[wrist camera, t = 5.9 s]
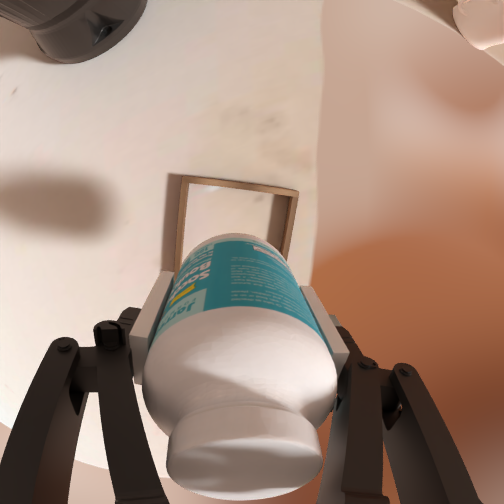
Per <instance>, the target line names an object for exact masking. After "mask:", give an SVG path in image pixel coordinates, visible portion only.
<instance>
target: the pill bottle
mask: <svg viewBox="0 0 504 504" xmlns="http://www.w3.org/2000/svg"><path fill="white" fill-rule="evenodd" d="M142 392H143V398H144V401H145V405H146V407H147V410H148V412H149V414H150V415H151V417H152V419H153V420H154V422H155V423H156V424H157V426H158V427H159V428H160V429H161V430H162V431H163V432H164V433H165V434H166V435H167V436H169V442H168V451H167V460H166V468H167V472H168V474H169V476H170V477H171V478H172V480H174V481H175V482H176V483H177V484H178V485H180V486H181V487H183V488H185V489H187V490H189V491H191V492H194V493H197V494H200V495H203V496H207V497H212V498H217V499H225V500H255V499H264V498H269V497H274V496H278V495H282V494H285V493H288V492H291V491H293V490H296V489H298V488H300V487H302V486H304V485H305V484H307V483H308V482H310V481H311V480H312V479H313V478H315V477H316V476H317V475H318V473H319V472H320V470H321V468H322V464H323V457H322V452H321V448H320V444H319V440H318V434H317V432H316V430H317V429H318V428H319V427H320V426H321V425H322V423H323V422H324V421H325V419H326V418H327V416H328V415H329V413H330V411H331V409H332V407H333V404H334V401H335V397H336V393H337V373H336V369H335V365H334V362H333V360H332V357H331V355H330V353H329V350H328V348H327V346H326V344H325V342H324V340H323V338H322V335H321V333H320V331H319V329H318V327H317V325H316V323H315V320H314V318H313V316H312V314H311V312H310V310H309V308H308V306H307V303H306V301H305V299H304V297H303V295H302V293H301V291H300V289H299V287H298V284H297V282H296V280H295V278H294V276H293V274H292V272H291V270H290V268H289V266H288V264H287V262H286V260H285V259H284V257H283V256H282V255H281V254H280V253H279V251H278V250H277V249H276V248H274V247H273V246H272V245H271V244H269V243H268V242H266V241H264V240H262V239H260V238H258V237H255V236H252V235H247V234H241V233H230V234H223V235H218V236H215V237H212V238H210V239H208V240H206V241H204V242H202V243H201V244H199V245H198V246H197V247H196V248H194V249H193V250H192V251H191V252H190V253H189V255H188V256H187V257H186V259H185V260H184V262H183V264H182V266H181V268H180V271H179V273H178V275H177V278H176V281H175V283H174V286H173V288H172V291H171V293H170V296H169V298H168V301H167V304H166V307H165V309H164V312H163V315H162V317H161V320H160V323H159V325H158V328H157V331H156V334H155V336H154V339H153V342H152V344H151V347H150V350H149V353H148V356H147V359H146V363H145V366H144V369H143V376H142Z"/></svg>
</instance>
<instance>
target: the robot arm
mask: <svg viewBox="0 0 504 504" xmlns="http://www.w3.org/2000/svg"><path fill="white" fill-rule="evenodd" d="M146 4H147V0H0V16H1V17H3V18H6V19H8V20H10V21H12V22H14V23H17V24H19V25H21V26H23V27H25V28H27V29H29V31H30V32H31V34H32V35H33V37H34V38H35V40H36V41H37V44H38V46H39V48H40V50H41V51H42V52H43V53H44V54H45V55H47V56H48V57H50V58H52V59H54V60H56V61H59V62H62V63H79V62H83V61H87V60H89V59H92V58H94V57H97V56H99V55H101V54H102V53H104V52H106V51H107V50H109V49H110V48H112V47H113V46H115V45H116V44H117V43H118V42H120V41H121V40H122V39H123V38H124V37H125V36H126V35H127V34H128V33H129V32H130V31H131V30H132V29H133V27H134V26H135V25H136V24H137V22H138V21H139V19H140V17H141V16H142V14H143V12H144V10H145V7H146ZM173 286H174V272H170V271H161V273H160V275H159V277H158V279H157V280H156V282H155V284H154V286H153V288H152V290H151V292H150V294H149V296H148V298H147V300H146V302H145V304H144V306H143V308H142V309H139V308H133V307H128V308H127V309H125V310H124V311H122V313H121V315H120V317H119V318H118V320H117V321H112V320H107V321H102V322H99V323H97V324H96V325H95V326H94V329H93V332H94V338H95V344H96V346H94V347H79V345H78V343H77V341H76V340H74V339H73V338H70V337H61V338H58V339H56V340H54V341H53V342H52V343H51V345H50V346H49V348H48V350H47V352H46V354H45V356H44V358H43V360H42V362H41V364H40V366H39V368H38V370H37V372H36V374H35V376H34V378H33V381H32V383H31V385H30V387H29V389H28V391H27V394H26V396H25V398H24V401H23V403H22V405H21V408H20V410H19V413H18V415H17V418H16V420H15V423H14V425H13V428H12V431H11V433H10V436H9V439H8V442H7V445H6V448H5V451H4V454H3V457H2V460H1V463H0V504H68V495H69V487H70V481H71V474H72V468H73V462H74V457H75V451H76V446H77V441H78V436H79V432H80V427H81V423H82V419H83V414H84V410H85V406H86V402H87V398H88V395H89V392H98V396H99V406H100V415H101V423H102V431H103V438H104V444H105V450H106V456H107V461H108V466H109V471H110V476H111V480H112V485H113V489H114V493H115V498H116V500H115V504H169V501H168V499H167V497H166V495H165V493H164V490H163V488H162V485H161V482H160V479H159V476H158V473H157V470H156V467H155V464H154V461H153V458H152V455H151V452H150V448H149V445H148V441H147V438H146V434H145V431H144V427H143V423H142V419H141V415H140V411H139V407H138V403H137V398H136V394H135V389H134V385H133V380H132V378H133V376H134V383H135V384H140V385H142V376H143V369H144V366H145V363H146V359H147V356H148V353H149V350H150V347H151V344H152V342H153V339H154V336H155V334H156V331H157V328H158V325H159V323H160V320H161V317H162V315H163V312H164V309H165V307H166V304H167V301H168V298H169V296H170V293H171V291H172V288H173ZM299 289H300V291H301V293H302V295H303V297H304V299H305V301H306V303H307V306H308V308H309V310H310V312H311V314H312V316H313V318H314V320H315V323H316V325H317V327H318V329H319V331H320V333H321V335H322V338H323V340H324V342H325V344H326V346H327V348H328V350H329V353H330V355H331V357H332V360H333V362H334V365H335V369H336V373H337V394H338V395H337V397H336V399H335V401H334V404H333V407H332V409H331V411H330V412H332V410H333V416H332V424H331V431H330V437H329V443H328V448H327V454H326V460H325V465H324V471H323V475H322V480H321V485H320V489H319V494H318V499H317V503H316V504H390V501H389V498H388V497H387V496H383V494H382V477H383V441H384V445H385V448H386V452H387V455H388V459H389V462H390V466H391V469H392V473H393V477H394V480H395V484H396V488H397V492H398V495H399V499H400V503H401V504H483V503H482V502H481V501H480V500H479V498H478V496H477V493H476V491H475V489H474V486H473V483H472V481H471V479H470V476H469V474H468V472H467V469H466V467H465V465H464V462H463V460H462V458H461V456H460V454H459V451H458V449H457V447H456V445H455V443H454V441H453V439H452V437H451V435H450V433H449V431H448V429H447V427H446V425H445V422H444V421H443V419H442V417H441V415H440V413H439V411H438V409H437V407H436V405H435V403H434V401H433V399H432V398H431V396H430V394H429V392H428V390H427V389H426V387H425V385H424V383H423V381H422V379H421V378H420V376H419V374H418V372H417V371H416V369H415V368H414V367H412V366H411V365H408V364H406V363H398V364H396V365H395V366H394V368H393V370H386V369H381V368H379V367H378V364H377V363H376V362H375V361H374V360H372V359H371V358H368V357H365V356H363V354H362V353H361V351H360V349H359V348H358V346H357V344H356V343H355V341H354V340H353V338H352V336H351V335H350V333H349V332H348V331H347V330H346V329H345V328H343V327H342V326H334V324H333V322H332V320H331V319H330V317H329V315H328V314H327V312H326V310H325V308H324V307H323V305H322V303H321V301H320V300H319V298H318V296H317V295H316V293H315V291H314V290H313V288H312V287H310V286H300V288H299ZM400 405H402V409H401V406H400Z"/></svg>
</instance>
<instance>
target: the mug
mask: <svg viewBox="0 0 504 504" xmlns="http://www.w3.org/2000/svg"><path fill="white" fill-rule="evenodd" d="M465 1H467V0H459V1H458V5H456V6H454V8H453V18H454V21H455V24H456V26H457V28H458V29H459V31H460V33H461V34H462V35H463V37H464V38H465V39H466V40H467V41H468V42H469V43H470V44H471V45H472V46H474V47H475V48H477V49H480V50H484V49H486V48H487V47H490V46H493V45H497V44H501V43H504V0H470V1H467V2H465ZM464 2H465V3H464Z"/></svg>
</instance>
